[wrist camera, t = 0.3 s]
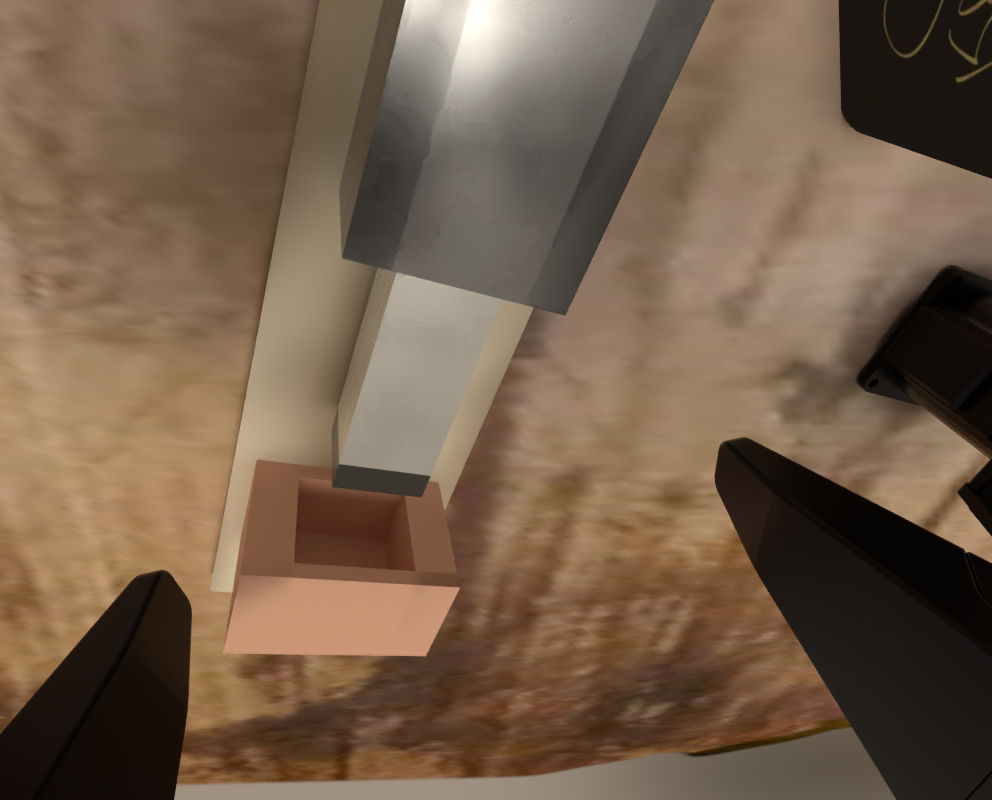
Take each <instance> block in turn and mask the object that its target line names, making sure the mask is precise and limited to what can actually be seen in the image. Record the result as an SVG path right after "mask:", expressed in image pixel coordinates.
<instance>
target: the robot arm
mask: <svg viewBox="0 0 992 800" xmlns="http://www.w3.org/2000/svg"><path fill="white" fill-rule="evenodd" d="M858 384H859V386H860V387H861V388H862V389H864V390H865V391H866V392H870V393H874V394H878V395H882V396H885V397H889V398H893V399H897V400H901V401H905V402H909V403H913V404H917V405H921V406H922V407H923V408H925V409H926V410H927V411H928V412H930V413H931V414H932V415H934V416H935V417H936V418H938V419H939V420H940V421H941V422H943V423H944V424H945V425H947V426H948V427H949V428H950V429H952V430H953V431H954V432H956V433H957V434H958V435H959V436H961V437H962V438H963V439H965V440H966V441H967V442H969V443H970V444H971V445H972V446H974V447H975V448H976V449H978V450H979V451H980V452H981V453H983V454H984V455H985V456H987V457H988V458H989V459H990V460H989V462H988V463H987V464H986V465H985V466H984V467H983V468H982V469H981V470H980V471H979V472H978V473H977V474H976V475H975V476H974V478H973V479H972V480H971V481H970V482H969V483H968V482H966V483H965V484H964V485H963V486H962V487H961V488H960V489H959V490H958V491H957V493H958V494H959V495H960V497H961V498H962V499H963V500H964V502H965V503H966V504H967V505H968V506H969V509H970V510H971V512H972V513H973V514H974V515H975V517H976V518H977V519H978V520H979V521H980V523H981V524H982V525H983V526H984V527H985V529H986V530H987V531H988V532H989V534H990V535H991V536H992V280H990V279H988V278H985V277H983V276H980V275H978V274H975V273H973V272H970V271H968V270H965V269H963V268H961V267H957V266H954V267H951V268H949V269H948V270H946V271H945V272H944V273H943V274H942V275H941V277H940V278H939V279H938V281H937V282H936V283H935V284H934V286H933V287H932V288H931V289H930V291H929V292H928V293H927V294H926V296H925V297H924V298H923V299H922V301H921V302H920V303H919V304H918V306H917V307H916V308H915V309H914V311H913V312H912V313H911V314H910V316H909V317H908V318H907V319H906V321H905V322H904V323H903V324H902V326H901V327H900V328H899V329H898V331H897V332H896V333H895V335H894V336H893V337H892V338H891V340H890V341H889V342H888V343H887V345H886V346H885V347H884V348H883V350H882V351H881V352H880V353H879V355H878V356H877V357H876V358H875V360H874V361H873V362H872V363H871V365H870V366H869V367H868V368H867V370H866V371H865V372H864V373H863V375H862V376H861V377H860V379H859V382H858ZM715 484H716V488H717V491H718V493H719V495H720V497H721V499H722V501H723V503H724V506H725V508H726V510H727V512H728V514H729V516H730V518H731V520H732V523H733V525H734V527H735V529H736V531H737V533H738V535H739V537H740V539H741V542H742V544H743V546H744V548H745V550H746V552H747V554H748V556H749V558H750V560H751V562H752V564H753V566H754V568H755V570H756V572H757V573H758V575H759V577H760V579H761V580H762V582H763V584H764V585H765V587H766V588H767V590H768V592H769V593H770V595H771V597H772V598H773V600H774V601H775V603H776V605H777V606H778V608H779V610H780V611H781V613H782V614H783V616H784V618H785V619H786V621H787V623H788V624H789V626H790V627H791V629H792V631H793V632H794V634H795V636H796V637H797V639H798V640H799V642H800V644H801V645H802V647H803V649H804V650H805V652H806V654H807V655H808V657H809V658H810V660H811V662H812V663H813V665H814V667H815V668H816V670H817V671H818V673H819V675H820V676H821V678H822V680H823V681H824V683H825V684H826V686H827V688H828V689H829V691H830V693H831V694H832V696H833V697H834V699H835V701H836V702H837V704H838V706H839V707H840V709H841V710H842V712H843V714H844V715H845V717H846V719H847V720H848V722H849V723H850V725H851V727H852V728H853V730H854V732H855V733H856V735H857V736H858V738H859V740H860V741H861V743H862V744H863V746H864V748H865V750H866V751H867V753H868V754H869V756H870V757H871V759H872V761H873V762H874V764H875V766H876V767H877V769H878V770H879V772H880V774H881V775H882V777H883V779H884V780H885V782H886V784H887V785H888V787H889V789H890V790H891V792H892V793H893V795H894V796H895V798H896V800H992V563H990V562H988V561H986V560H984V559H982V558H981V557H979V556H977V555H975V554H973V553H971V552H967V553H965V550H964V549H963V548H961V547H959V546H957V545H955V544H953V543H951V542H949V541H947V540H945V539H943V538H941V537H939V536H937V535H936V534H934V533H932V532H930V531H928V530H926V529H924V528H922V527H920V526H918V525H916V524H914V523H912V522H910V521H908V520H906V519H904V518H903V517H901V516H899V515H897V514H895V513H893V512H891V511H889V510H887V509H885V508H883V507H881V506H879V505H877V504H875V503H873V502H871V501H870V500H868V499H866V498H864V497H862V496H860V495H858V494H856V493H854V492H852V491H850V490H848V489H846V488H844V487H842V486H840V485H838V484H837V483H835V482H833V481H831V480H829V479H827V478H825V477H823V476H821V475H819V474H817V473H815V472H813V471H811V470H809V469H807V468H805V467H804V466H802V465H800V464H798V463H796V462H794V461H792V460H790V459H788V458H786V457H784V456H782V455H780V454H778V453H776V452H774V451H772V450H771V449H769V448H767V447H765V446H763V445H761V444H759V443H757V442H755V441H753V440H751V439H749V438H745V437H741V438H737V439H732V440H728V441H724V442H722V443H721V445H720V447H719V451H718V458H717V464H716V470H715ZM191 625H192V610H191V605H190V602H189V600H188V598H187V597H186V595H185V594H184V592H183V591H182V590H181V588H180V587H179V585H178V584H177V582H176V581H175V580H174V578H173V577H172V575H171V574H170V573H169V572H167V571H165V570H158V571H154V572H150V573H145V574H141V575H139V576H137V577H135V578H134V579H133V580H132V581H131V582H130V583H129V584H128V586H127V587H126V588H125V589H124V590H123V591H122V593H121V594H120V595H119V596H118V597H117V598H116V600H115V601H114V602H113V603H112V604H111V605H110V607H109V608H108V609H107V610H106V611H105V612H104V614H103V615H102V616H101V617H100V618H99V619H98V621H97V622H96V623H95V624H94V625H93V626H92V628H91V629H90V630H89V631H88V632H87V633H86V635H85V636H84V637H83V638H82V639H81V640H80V642H79V643H78V644H77V645H76V646H75V647H74V649H73V650H72V651H71V652H70V653H69V654H68V656H67V657H66V658H65V659H64V660H63V661H62V663H61V664H60V665H59V666H58V667H57V668H56V670H55V671H54V672H53V673H52V674H51V675H50V677H49V678H48V679H47V680H46V681H45V682H44V684H43V685H42V686H41V687H40V688H39V689H38V691H37V692H36V693H35V694H34V695H33V696H32V697H31V699H30V700H29V701H28V702H27V703H26V704H25V706H24V707H23V708H22V709H21V710H20V711H19V713H18V714H17V715H16V716H15V717H14V718H13V720H12V721H11V722H10V723H9V724H8V725H7V727H6V728H5V729H4V730H3V731H2V732H1V734H0V800H174V796H175V790H176V784H177V777H178V771H179V765H180V758H181V752H182V745H183V739H184V733H185V726H186V718H187V711H188V697H189V674H190V650H191Z"/></svg>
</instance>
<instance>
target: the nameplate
mask: <svg viewBox="0 0 992 800" xmlns="http://www.w3.org/2000/svg"><path fill="white" fill-rule="evenodd" d="M839 33H840V78H841V110H842V112H843V115H844V117H845V119H846V120H847V122H848V123H849V124H850V126H851V127H852V128H854V129H855V130H856V131H857V132H859V133H862V134H865V135H868V136H871V137H874V138H877V139H880V140H882V141H885V142H888V143H891V144H894V145H897V146H900V147H902V148H905V149H908V150H911V151H914V152H917V153H920V154H923V155H925V156H928V157H931V158H934V159H937V160H940V161H943V162H946V163H948V164H951V165H954V166H957V167H960V168H963V169H966V170H968V171H971V172H974V173H977V174H980V175H983V176H986V177H989V178H991V179H992V0H839Z"/></svg>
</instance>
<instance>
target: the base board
mask: <svg viewBox="0 0 992 800" xmlns="http://www.w3.org/2000/svg"><path fill="white" fill-rule="evenodd" d="M382 2H383V0H319V5H318V10H317V16H316V21H315V27H314V32H313V37H312V43H311V48H310V54H309V59H308V64H307V70H306V75H305V80H304V86H303V91H302V97H301V102H300V107H299V113H298V118H297V124H296V129H295V134H294V140H293V145H292V150H291V156H290V161H289V167H288V172H287V177H286V183H285V188H284V194H283V199H282V204H281V210H280V215H279V220H278V226H277V231H276V237H275V242H274V247H273V253H272V258H271V264H270V269H269V274H268V280H267V285H266V290H265V296H264V301H263V307H262V312H261V317H260V323H259V328H258V333H257V339H256V344H255V350H254V355H253V360H252V366H251V371H250V377H249V382H248V387H247V393H246V398H245V403H244V409H243V414H242V420H241V425H240V430H239V436H238V441H237V447H236V452H235V457H234V463H233V468H232V473H231V479H230V484H229V490H228V495H227V500H226V506H225V511H224V517H223V522H222V527H221V533H220V538H219V543H218V549H217V554H216V560H215V565H214V570H213V576H212V581H211V587H210V591H217V592H232V591H233V584H234V578H235V571H236V565H237V558H238V552H239V545H240V538H241V533H242V528H243V523H244V518H245V514H246V509H247V504H248V499H249V495H250V490H251V485H252V480H253V476H254V471H255V466H256V461H257V460H265V461H273V462H281V463H289V464H297V465H305V466H313V467H321V468H329V469H332V426H333V423H334V419H335V416H336V412H337V409H338V405H339V402H340V398H341V394H342V391H343V387H344V384H345V380H346V377H347V373H348V370H349V366H350V363H351V359H352V356H353V352H354V348H355V345H356V341H357V338H358V334H359V331H360V327H361V324H362V320H363V317H364V313H365V310H366V306H367V302H368V299H369V295H370V292H371V288H372V285H373V281H374V278H375V274H376V271H377V267H374V266H370V265H366V264H362V263H358V262H354V261H350V260H346V259H342V253H341V226H340V199H339V188H340V183H341V179H342V175H343V170H344V166H345V162H346V157H347V153H348V149H349V144H350V140H351V136H352V132H353V127H354V123H355V119H356V114H357V110H358V106H359V101H360V97H361V93H362V88H363V84H364V80H365V75H366V71H367V67H368V63H369V58H370V54H371V50H372V45H373V41H374V37H375V32H376V28H377V24H378V19H379V15H380V11H381V6H382ZM533 308H534V307H530V306H526V305H522V304H518V303H514V302H511V301H507V300H502V302H501V305H500V307H499V309H498V312H497V314H496V317H495V319H494V322H493V324H492V327H491V329H490V332H489V334H488V336H487V339H486V341H485V344H484V346H483V349H482V351H481V354H480V356H479V359H478V361H477V363H476V366H475V368H474V371H473V373H472V376H471V378H470V381H469V383H468V386H467V388H466V391H465V393H464V395H463V398H462V400H461V403H460V405H459V408H458V410H457V413H456V415H455V418H454V420H453V422H452V425H451V427H450V430H449V432H448V435H447V437H446V440H445V442H444V445H443V447H442V449H441V452H440V454H439V457H438V459H437V462H436V464H435V467H434V469H433V472H432V474H431V476H430V479H429V481H432V482H439V486H440V491H441V496H442V501H443V506H444V511H445V509H446V506H447V504H448V502H449V500H450V497H451V495H452V493H453V490H454V488H455V486H456V484H457V481H458V479H459V477H460V474H461V472H462V470H463V468H464V465H465V463H466V461H467V459H468V456H469V454H470V452H471V449H472V447H473V445H474V443H475V440H476V438H477V436H478V434H479V431H480V429H481V427H482V424H483V422H484V420H485V418H486V415H487V413H488V411H489V408H490V406H491V404H492V402H493V399H494V397H495V395H496V393H497V390H498V388H499V386H500V383H501V381H502V379H503V377H504V374H505V372H506V370H507V368H508V365H509V363H510V361H511V358H512V356H513V354H514V352H515V349H516V347H517V345H518V342H519V340H520V338H521V336H522V333H523V331H524V329H525V327H526V324H527V322H528V320H529V317H530V315H531V313H532V311H533Z"/></svg>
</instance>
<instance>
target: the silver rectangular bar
mask: <svg viewBox="0 0 992 800" xmlns="http://www.w3.org/2000/svg"><path fill="white" fill-rule="evenodd" d="M502 300H503V299H499V298H495V297H491V296H487V295H483V294H479V293H475V292H471V291H467V290H464V289H460V288H456V287H452V286H448V285H444V284H440V283H436V282H432V281H428V280H424V279H421V278H417V277H413V276H409V275H405V274H401V273H397V272H393V271H389V270H385V269H381V268H378V267H377V271H376V274H375V278H374V281H373V285H372V288H371V292H370V295H369V299H368V302H367V306H366V310H365V313H364V317H363V320H362V324H361V327H360V331H359V334H358V338H357V341H356V345H355V348H354V352H353V356H352V359H351V363H350V366H349V370H348V373H347V377H346V380H345V384H344V387H343V391H342V394H341V398H340V402H339V405H338V409H337V412H336V416H335V419H334V423H333V426H332V487H334V488H342V489H351V490H360V491H368V492H377V493H386V494H395V495H403V496H412V497H421V498H422V496H423V494H424V491H425V489H426V486H427V484H428V481H429V479H430V476H431V474H432V472H433V469H434V467H435V464H436V462H437V459H438V457H439V454H440V452H441V449H442V447H443V445H444V442H445V440H446V437H447V435H448V432H449V430H450V427H451V425H452V422H453V420H454V418H455V415H456V413H457V410H458V408H459V405H460V403H461V400H462V398H463V395H464V393H465V391H466V388H467V386H468V383H469V381H470V378H471V376H472V373H473V371H474V368H475V366H476V363H477V361H478V359H479V356H480V354H481V351H482V349H483V346H484V344H485V341H486V339H487V336H488V334H489V332H490V329H491V327H492V324H493V322H494V319H495V317H496V314H497V312H498V309H499V307H500V305H501V302H502Z"/></svg>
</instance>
